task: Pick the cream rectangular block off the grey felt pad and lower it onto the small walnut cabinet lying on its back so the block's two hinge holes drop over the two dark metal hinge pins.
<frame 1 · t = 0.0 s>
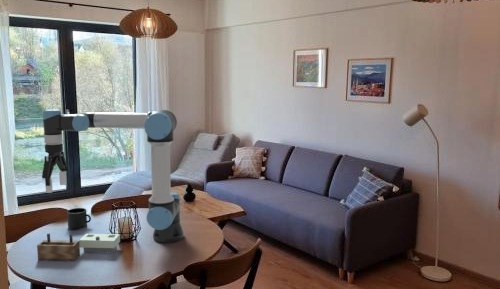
hand: (56, 188, 198), 28 cm above the table, fingers open, 13 cm apart
cream rectangular block: (100, 244, 197), point 3 cm above the table, touching pad
mug: (80, 227, 227), on the table
pad: (100, 250, 197), on the table
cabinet: (59, 257, 189), on the table
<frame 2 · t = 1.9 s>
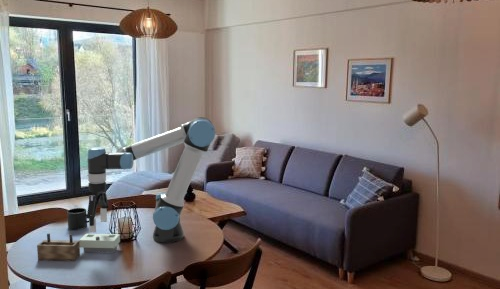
hand: (98, 226, 195), 12 cm above the table, fingers open, 13 cm apart
nothing on the table moved.
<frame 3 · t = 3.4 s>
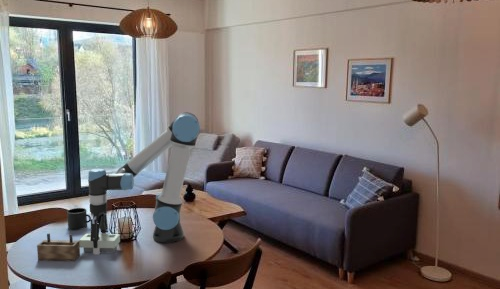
hand: (100, 250, 197), 0 cm above the table, fingers closed on cream rectangular block, 8 cm apart
cream rectangular block: (100, 244, 197), point 3 cm above the table, touching gripper, pad
everything else where it was.
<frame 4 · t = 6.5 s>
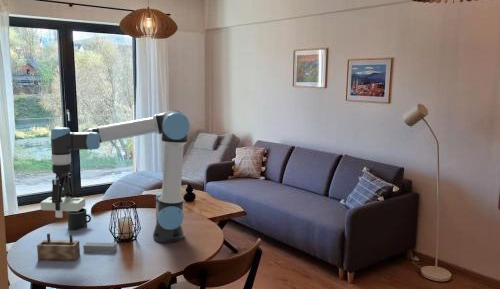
hand: (63, 213, 187), 20 cm above the table, fingers closed on cream rectangular block, 8 cm apart
cream rectangular block: (63, 207, 187), point 23 cm above the table, touching gripper
everything else where it was.
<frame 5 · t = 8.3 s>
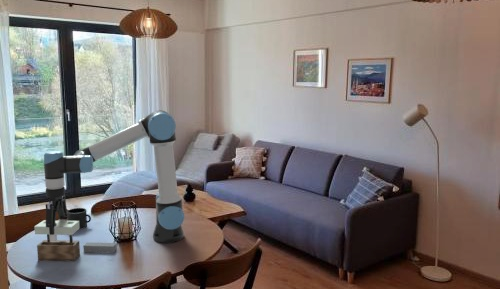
hand: (58, 237, 187), 10 cm above the table, fingers closed on cream rectangular block, 8 cm apart
cream rectangular block: (57, 231, 187), point 12 cm above the table, touching gripper
everything else where it was.
when the fingers open (6 cm above the table, at t = 9.6 s): cream rectangular block drops 2 cm, resting on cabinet.
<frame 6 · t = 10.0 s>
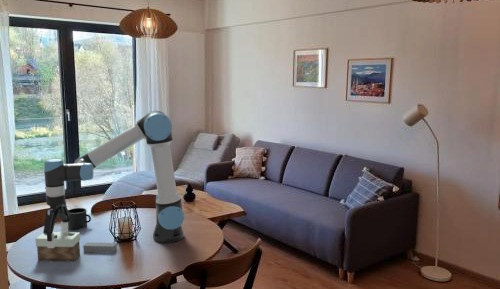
hand: (58, 241, 187), 8 cm above the table, fingers open, 13 cm apart
cream rectangular block: (58, 243, 188), point 7 cm above the table, touching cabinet
everything else where it was.
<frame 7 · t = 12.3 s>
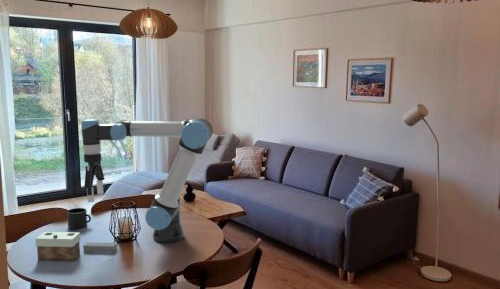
hand: (95, 197, 199), 24 cm above the table, fingers open, 13 cm apart
nothing on the table moved.
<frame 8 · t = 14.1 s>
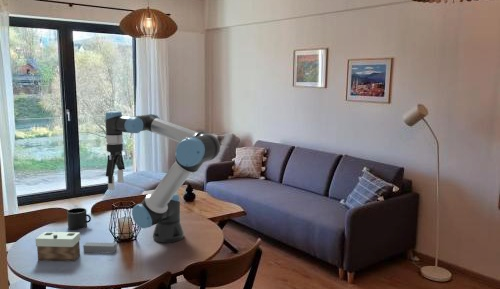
hand: (116, 186, 209), 27 cm above the table, fingers open, 13 cm apart
nothing on the table moved.
at the end: cream rectangular block 0.0 cm off-centre on the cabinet, point 7.0 cm above the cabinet's base; cream rectangular block tilted 0°; the gripper is holding nothing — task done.
